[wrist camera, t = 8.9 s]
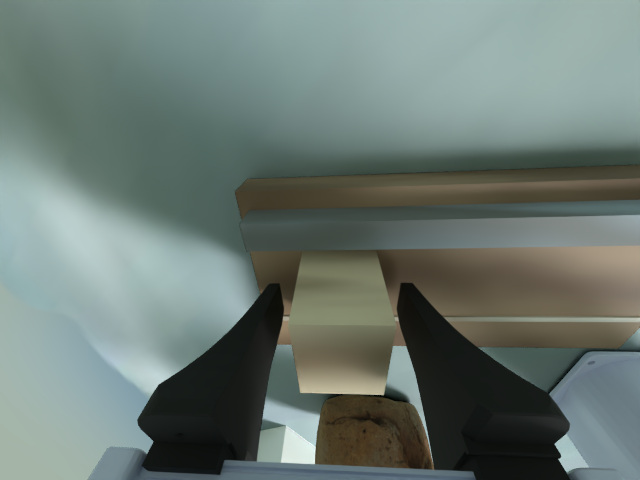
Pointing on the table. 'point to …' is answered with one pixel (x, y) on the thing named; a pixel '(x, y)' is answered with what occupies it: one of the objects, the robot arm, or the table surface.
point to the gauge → (341, 323)
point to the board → (470, 246)
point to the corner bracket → (284, 447)
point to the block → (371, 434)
